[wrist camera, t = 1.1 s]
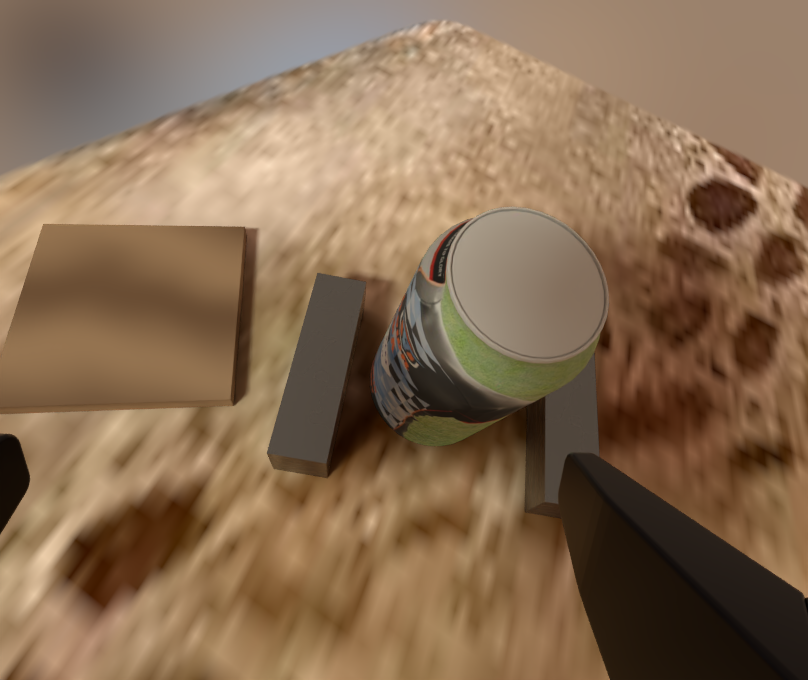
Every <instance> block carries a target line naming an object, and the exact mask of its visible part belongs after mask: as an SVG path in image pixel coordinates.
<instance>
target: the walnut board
mask: <svg viewBox="0 0 808 680" xmlns="http://www.w3.org/2000/svg"><path fill="white" fill-rule="evenodd" d="M246 240H247V235H246V231H245V227H221V226H148V225H74V224H43V226H42V230H41V233H40V236H39V239H38V242H37V245H36V248H35V251H34V255H33V258H32V261H31V264H30V267H29V270H28V273H27V276H26V279H25V283H24V286H23V289H22V292H21V295H20V298H19V301H18V304H17V307H16V311H15V314H14V317H13V320H12V323H11V326H10V329H9V332H8V335H7V339H6V342H5V345H4V348H3V351H2V354H1V357H0V414H15V413H43V412H71V411H99V410H127V409H155V408H183V407H211V406H234V393H235V380H236V368H237V355H238V342H239V329H240V316H241V304H242V291H243V278H244V265H245V252H246Z"/></svg>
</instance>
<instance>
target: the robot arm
mask: <svg viewBox="0 0 808 680" xmlns="http://www.w3.org/2000/svg"><path fill="white" fill-rule="evenodd" d="M29 483H30V474H29V470H28V467H27V464H26V461H25V457H24V454H23V451H22V448H21V444H20V442H19V440H18V439H17V437H16V436H14V435H12V434H0V534H1V532H2V531H3V529H4V528H5V526H6V524H7V523H8V521H9V519H10V518H11V516H12V514H13V513H14V511H15V510H16V508H17V506H18V505H19V503H20V501H21V500H22V498H23V497H24V495H25V493H26V491H27V489H28V487H29ZM558 505H559V510H560V514H561V518H562V522H563V526H564V531H565V535H566V539H567V543H568V548H569V552H570V556H571V560H572V565H573V569H574V573H575V577H576V581H577V585H578V589H579V593H580V596H581V599H582V602H583V605H584V608H585V611H586V613H587V616H588V619H589V622H590V625H591V628H592V630H593V633H594V636H595V639H596V642H597V644H598V647H599V650H600V653H601V656H602V659H603V661H604V664H605V667H606V670H607V673H608V675H609V678H610V680H808V598H805V597H804V595H803V593H802V592H800V591H799V590H797V589H796V588H794V587H793V586H791V585H790V584H788V583H787V582H785V581H784V580H782V579H781V578H779V577H778V576H776V575H775V574H773V573H772V572H770V571H769V570H767V569H766V568H764V567H763V566H761V565H760V564H758V563H757V562H755V561H754V560H752V559H751V558H749V557H748V556H746V555H745V554H743V553H742V552H740V551H739V550H737V549H736V548H734V547H733V546H731V545H730V544H728V543H727V542H725V541H724V540H722V539H721V538H719V537H718V536H716V535H715V534H713V533H712V532H711V531H709V530H708V529H706V528H705V527H703V526H702V525H700V524H699V523H697V522H696V521H694V520H693V519H691V518H690V517H688V516H687V515H685V514H684V513H682V512H681V511H679V510H678V509H676V508H675V507H673V506H672V505H670V504H669V503H667V502H666V501H664V500H663V499H661V498H660V497H658V496H657V495H655V494H654V493H652V492H651V491H649V490H648V489H646V488H645V487H643V486H642V485H640V484H639V483H637V482H636V481H634V480H633V479H631V478H630V477H628V476H627V475H625V474H624V473H622V472H621V471H619V470H618V469H616V468H615V467H613V466H612V465H610V464H609V463H607V462H606V461H604V460H603V459H601V458H600V457H598V456H597V455H595V454H593V453H580V452H571V453H569V454H568V455H567V457H566V458H565V462H564V467H563V471H562V476H561V481H560V486H559V491H558Z"/></svg>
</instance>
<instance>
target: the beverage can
mask: <svg viewBox="0 0 808 680" xmlns="http://www.w3.org/2000/svg"><path fill="white" fill-rule="evenodd" d="M608 307H609V291H608V286H607V281H606V277H605V274H604V272H603V269H602V266H601V264H600V262H599V261H598V259H597V257H596V255H595V253H594V252H593V251H592V249H591V248H590V247H589V245H588V244H587V243H586V242H585V241H584V240H583V239H582V238H581V237H580V236H579V235H578V234H577V233H576V232H575V231H574V230H573V229H571V228H570V227H569V226H567V225H566V224H565V223H563V222H561V221H560V220H558V219H556V218H555V217H553V216H550V215H548V214H545V213H543V212H541V211H537V210H533V209H529V208H522V207H501V208H497V209H492V210H488V211H486V212H484V213H482V214H480V215H477V216H476V217H474V218H471V219H467V220H465V221H463V222H461V223H459V224H456V225H454V226H452V227H451V228H450V229H448V230H447V231H445V232H444V233H443V234H441V235H440V236H439V237H438V238H437V239H436V240H435V241H434V243H433V244H432V245H431V246H430V247H429V249H428V250H427V252H426V254H425V255H424V257H423V259H422V260H421V262H420V264H419V266H418V268H417V271H416V273H415V275H414V277H413V279H412V281H411V283H410V285H409V287H408V289H407V291H406V293H405V295H404V297H403V299H402V301H401V303H400V305H399V307H398V309H397V311H396V313H395V315H394V318H393V320H392V322H391V324H390V326H389V328H388V330H387V332H386V334H385V336H384V338H383V340H382V342H381V344H380V346H379V348H378V350H377V352H376V354H375V357H374V360H373V362H372V365H371V371H370V389H371V394H372V399H373V401H374V404H375V406H376V409H377V410H378V412H379V414H380V415H381V417H382V419H383V420H384V421H385V422H386V423H387V424H388V425H389V427H390V428H392V429H393V430H394V431H395V432H396V433H398V434H399V435H401V436H402V437H404V438H406V439H408V440H410V441H412V442H415V443H418V444H422V445H428V446H444V445H450V444H454V443H456V442H459V441H461V440H463V439H465V438H467V437H469V436H471V435H473V434H475V433H477V432H478V431H480V430H482V429H484V428H486V427H488V426H490V425H492V424H493V423H495V422H497V421H499V420H501V419H503V418H505V417H507V416H509V415H510V414H512V413H514V412H516V411H518V410H520V409H522V408H524V407H525V406H527V405H529V404H531V403H533V402H535V401H537V400H539V399H540V398H542V397H544V396H546V395H548V394H550V393H552V392H554V391H556V390H557V389H559V388H561V387H562V386H564V385H565V384H567V383H568V382H570V381H572V380H573V379H574V378H575V377H576V376H577V375H578V374H579V373H580V372H581V371H582V370H583V369H584V368H585V367H586V365H587V363H588V362H589V360H590V359H591V357H592V355H593V354H594V351H595V349H596V346H597V343H598V341H599V338H600V332H601V330H602V329H603V326H604V324H605V321H606V318H607V314H608Z"/></svg>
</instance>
